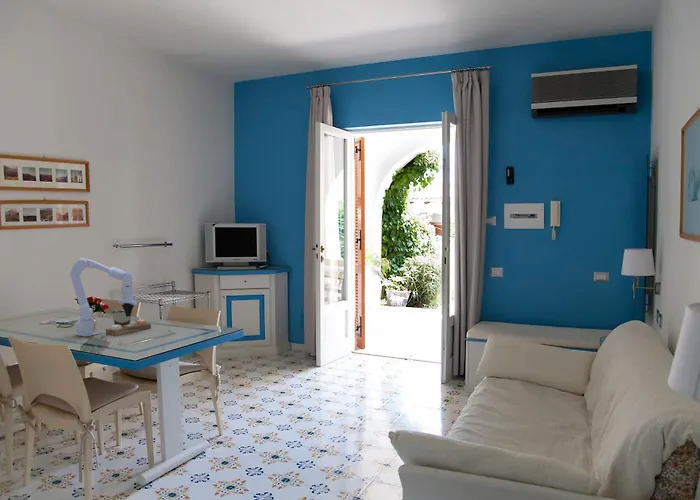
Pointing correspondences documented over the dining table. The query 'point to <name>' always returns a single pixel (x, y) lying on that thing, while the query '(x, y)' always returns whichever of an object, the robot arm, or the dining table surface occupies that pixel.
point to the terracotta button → (141, 322)
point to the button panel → (128, 329)
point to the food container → (120, 317)
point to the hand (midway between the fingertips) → (128, 316)
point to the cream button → (115, 327)
